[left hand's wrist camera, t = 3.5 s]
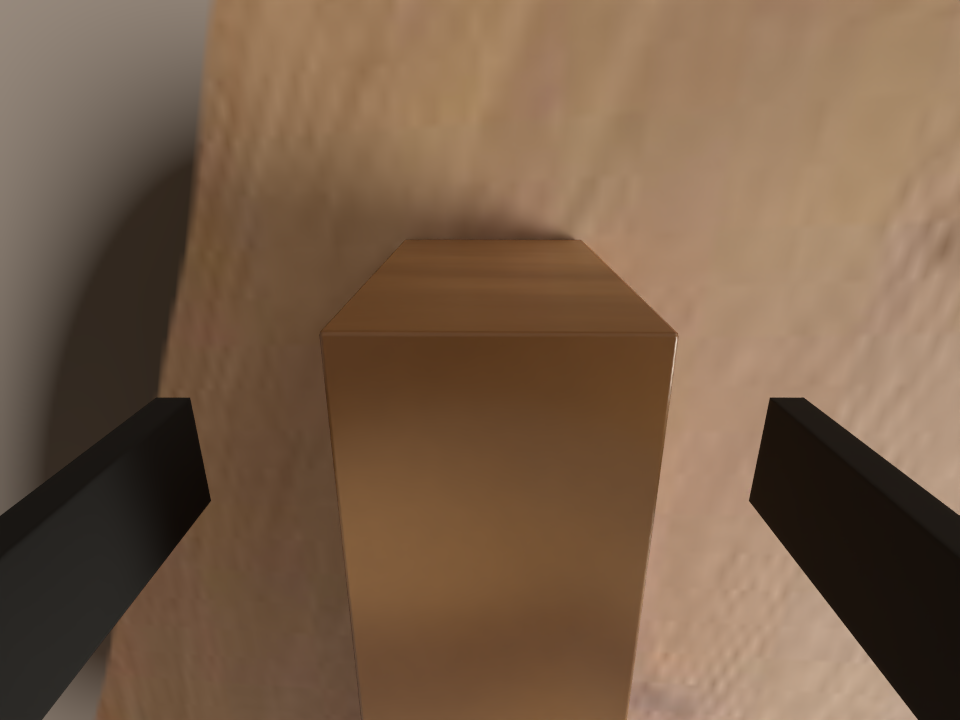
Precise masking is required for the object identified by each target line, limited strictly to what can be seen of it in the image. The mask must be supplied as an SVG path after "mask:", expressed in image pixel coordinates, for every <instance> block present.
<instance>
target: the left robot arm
mask: <svg viewBox="0 0 960 720" xmlns="http://www.w3.org/2000/svg"><path fill="white" fill-rule="evenodd" d="M210 501H211V498H210V493H209V489H208V484H207V479H206V474H205V469H204V464H203V459H202V454H201V449H200V444H199V439H198V434H197V430H196V425H195V420H194V415H193V410H192V405H191V400H190V398H155V399H154V400H153V401H151V402H150V403H149V404H147V405H146V406H145V407H143V408H142V409H141V410H139V411H138V412H137V413H135V414H134V415H133V416H131V417H130V418H129V419H128V420H126V421H125V422H123V423H122V424H121V425H120V426H118V427H117V428H116V429H114V430H113V431H112V432H110V433H109V434H108V435H106V436H105V437H104V438H102V439H101V440H100V441H98V442H97V443H96V444H95V445H93V446H92V447H91V448H89V449H88V450H87V451H85V452H84V453H83V454H81V455H80V456H79V457H77V458H76V459H75V460H73V461H72V462H71V463H69V464H68V465H67V466H65V467H64V468H63V469H61V470H60V471H59V472H58V473H56V474H55V475H54V476H52V477H51V478H50V479H48V480H47V481H46V482H44V483H43V484H42V485H40V486H39V487H38V488H36V489H35V490H34V491H33V492H31V493H30V494H29V495H27V496H26V497H25V498H23V499H22V500H21V501H19V502H18V503H17V504H15V505H14V506H13V507H11V508H10V509H9V510H7V511H6V512H5V513H4V514H2V515H1V516H0V720H42V719H43V718H44V716H45V715H46V714H47V713H48V711H49V710H50V709H51V707H52V706H53V705H54V703H55V702H56V701H57V700H58V698H59V697H60V696H61V694H62V693H63V692H64V690H65V689H66V688H67V687H68V685H69V684H70V683H71V681H72V680H73V679H74V678H75V676H76V675H77V674H78V672H79V671H80V670H81V669H82V667H83V666H84V665H85V663H86V662H87V661H88V659H89V658H90V657H91V656H92V654H93V653H94V652H95V650H96V649H97V648H98V646H99V645H100V644H101V643H102V641H103V640H104V639H105V637H106V636H107V635H108V634H109V632H110V631H111V630H112V628H113V627H114V626H115V624H116V623H117V622H118V621H119V619H120V618H121V617H122V615H123V614H124V613H125V612H126V610H127V609H128V608H129V606H130V605H131V604H132V602H133V601H134V600H135V599H136V597H137V596H138V595H139V593H140V592H141V591H142V589H143V588H144V587H145V586H146V584H147V583H148V582H149V580H150V579H151V578H152V577H153V575H154V574H155V573H156V571H157V570H158V569H159V567H160V566H161V565H162V564H163V562H164V561H165V560H166V558H167V557H168V556H169V555H170V553H171V552H172V551H173V549H174V548H175V547H176V545H177V544H178V543H179V542H180V540H181V539H182V538H183V536H184V535H185V534H186V532H187V531H188V530H189V529H190V527H191V526H192V525H193V523H194V522H195V521H196V520H197V518H198V517H199V516H200V514H201V513H202V512H203V510H204V509H205V508H206V507H207V505H208V504H209V503H210ZM749 501H750V503H751V504H752V505H753V507H754V508H755V509H756V510H757V512H758V513H759V514H760V516H761V517H762V518H763V520H764V521H765V522H766V523H767V525H768V526H769V527H770V529H771V530H772V531H773V532H774V534H775V535H776V536H777V538H778V539H779V540H780V542H781V543H782V544H783V545H784V547H785V548H786V549H787V551H788V552H789V553H790V555H791V556H792V557H793V558H794V560H795V561H796V562H797V564H798V565H799V566H800V567H801V569H802V570H803V571H804V573H805V574H806V575H807V577H808V578H809V579H810V580H811V582H812V583H813V584H814V586H815V587H816V588H817V589H818V591H819V592H820V593H821V595H822V596H823V597H824V599H825V600H826V601H827V602H828V604H829V605H830V606H831V608H832V609H833V610H834V612H835V613H836V614H837V615H838V617H839V618H840V619H841V621H842V622H843V623H844V624H845V626H846V627H847V628H848V630H849V631H850V632H851V634H852V635H853V636H854V637H855V639H856V640H857V641H858V643H859V644H860V645H861V646H862V648H863V649H864V650H865V652H866V653H867V654H868V656H869V657H870V658H871V659H872V661H873V662H874V663H875V665H876V666H877V667H878V669H879V670H880V671H881V672H882V674H883V675H884V676H885V678H886V679H887V680H888V681H889V683H890V684H891V685H892V687H893V688H894V689H895V691H896V692H897V693H898V694H899V696H900V697H901V698H902V700H903V701H904V702H905V703H906V705H907V706H908V707H909V709H910V710H911V711H912V713H913V714H914V715H915V716H916V718H917V719H918V720H960V515H958V514H957V513H955V512H954V511H953V510H951V509H950V508H949V507H947V506H946V505H945V504H943V503H942V502H941V501H939V500H938V499H937V498H935V497H934V496H933V495H931V494H930V493H929V492H928V491H926V490H925V489H924V488H922V487H921V486H920V485H918V484H917V483H916V482H914V481H913V480H912V479H910V478H909V477H908V476H906V475H905V474H904V473H902V472H901V471H900V470H899V469H897V468H896V467H895V466H893V465H892V464H891V463H889V462H888V461H887V460H885V459H884V458H883V457H881V456H880V455H879V454H877V453H876V452H875V451H873V450H872V449H871V448H869V447H868V446H867V445H866V444H864V443H863V442H862V441H860V440H859V439H858V438H856V437H855V436H854V435H852V434H851V433H850V432H848V431H847V430H846V429H844V428H843V427H842V426H840V425H839V424H838V423H836V422H835V421H834V420H833V419H831V418H830V417H829V416H827V415H826V414H825V413H823V412H822V411H821V410H819V409H818V408H817V407H815V406H814V405H813V404H811V403H810V402H809V401H807V400H806V399H805V398H770V400H769V405H768V410H767V415H766V420H765V425H764V430H763V434H762V439H761V444H760V449H759V454H758V459H757V464H756V469H755V474H754V479H753V484H752V488H751V493H750V498H749Z"/></svg>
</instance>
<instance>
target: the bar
mask: <svg viewBox="0 0 960 720" xmlns="http://www.w3.org/2000/svg"><path fill="white" fill-rule="evenodd" d="M320 344H321V353H322V363H323V372H324V381H325V390H326V399H327V409H328V418H329V427H330V436H331V445H332V454H333V464H334V473H335V482H336V491H337V500H338V509H339V519H340V528H341V537H342V546H343V555H344V564H345V574H346V583H347V592H348V601H349V610H350V620H351V629H352V638H353V647H354V656H355V665H356V675H357V684H358V693H359V702H360V711H361V720H627V715H628V707H629V700H630V692H631V685H632V678H633V670H634V663H635V655H636V648H637V641H638V633H639V626H640V618H641V611H642V603H643V596H644V589H645V581H646V574H647V566H648V559H649V552H650V544H651V537H652V529H653V522H654V514H655V507H656V500H657V492H658V485H659V477H660V470H661V463H662V455H663V448H664V440H665V433H666V425H667V418H668V411H669V403H670V396H671V388H672V381H673V374H674V366H675V359H676V351H677V344H678V333H677V332H676V331H675V330H674V329H673V328H672V327H671V326H670V325H669V324H668V323H667V322H665V321H664V320H663V319H662V318H661V317H660V316H659V315H658V314H657V313H656V312H655V311H654V310H653V309H652V308H651V307H650V306H649V305H648V304H647V303H646V302H645V301H644V300H643V299H642V298H641V297H640V296H639V295H638V294H637V293H636V292H634V291H633V290H632V289H631V288H630V287H629V286H628V285H627V284H626V283H625V282H624V281H623V280H622V279H621V278H620V277H619V276H618V275H617V274H616V273H615V272H614V271H613V270H612V269H611V268H610V267H609V266H608V265H607V264H606V263H604V262H603V261H602V260H601V259H600V258H599V257H598V256H597V255H596V254H595V253H594V252H593V251H592V250H591V249H590V248H589V247H588V246H587V245H586V244H585V243H584V242H583V241H581V240H405V241H404V242H403V243H402V244H401V245H400V246H399V247H398V248H397V249H396V251H395V252H394V253H393V254H392V255H391V256H390V257H389V258H388V259H387V260H386V261H385V262H384V264H383V265H382V266H381V267H380V268H379V269H378V270H377V271H376V272H375V273H374V274H373V275H372V277H371V278H370V279H369V280H368V281H367V282H366V283H365V284H364V285H363V286H362V287H361V288H360V289H359V291H358V292H357V293H356V294H355V295H354V296H353V297H352V298H351V299H350V300H349V301H348V302H347V304H346V305H345V306H344V307H343V308H342V309H341V310H340V311H339V312H338V313H337V314H336V315H335V316H334V318H333V319H332V320H331V321H330V322H329V323H328V324H327V325H326V326H325V327H324V328H323V329H322V331H321V332H320Z"/></svg>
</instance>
